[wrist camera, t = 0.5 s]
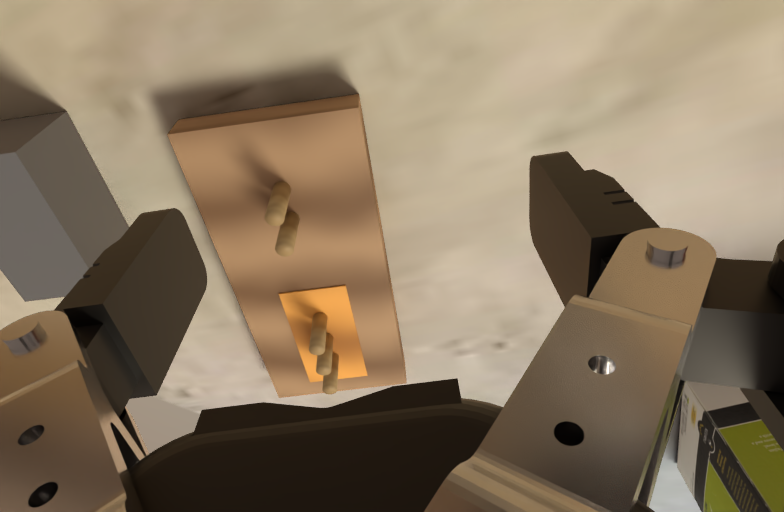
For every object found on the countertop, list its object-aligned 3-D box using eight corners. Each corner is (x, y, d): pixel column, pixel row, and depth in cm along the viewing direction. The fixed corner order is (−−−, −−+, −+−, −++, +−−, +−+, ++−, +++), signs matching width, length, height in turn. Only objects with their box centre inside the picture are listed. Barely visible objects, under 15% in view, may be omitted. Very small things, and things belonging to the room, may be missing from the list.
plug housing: (-16, 123, 27) (-80, 165, 23) (66, 111, 27) (15, 152, 23) (66, 249, 33) (25, 301, 29) (136, 240, 32) (103, 291, 28)
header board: (178, 119, 28) (147, 161, 24) (358, 93, 27) (357, 131, 23) (282, 377, 41) (273, 431, 37) (404, 363, 41) (409, 416, 37)
